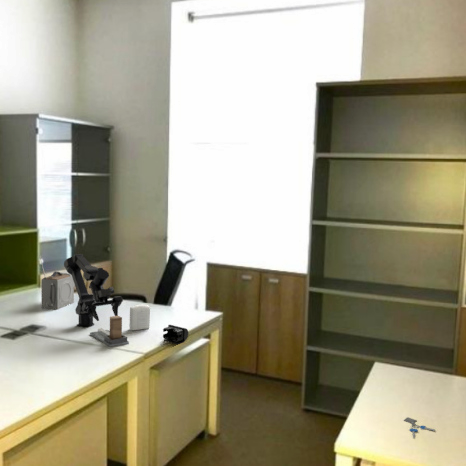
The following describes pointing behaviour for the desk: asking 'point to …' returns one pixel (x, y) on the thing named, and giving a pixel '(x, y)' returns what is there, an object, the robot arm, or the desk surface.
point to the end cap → (175, 334)
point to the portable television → (57, 290)
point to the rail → (105, 338)
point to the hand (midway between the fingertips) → (107, 319)
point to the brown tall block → (115, 327)
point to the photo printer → (139, 317)
